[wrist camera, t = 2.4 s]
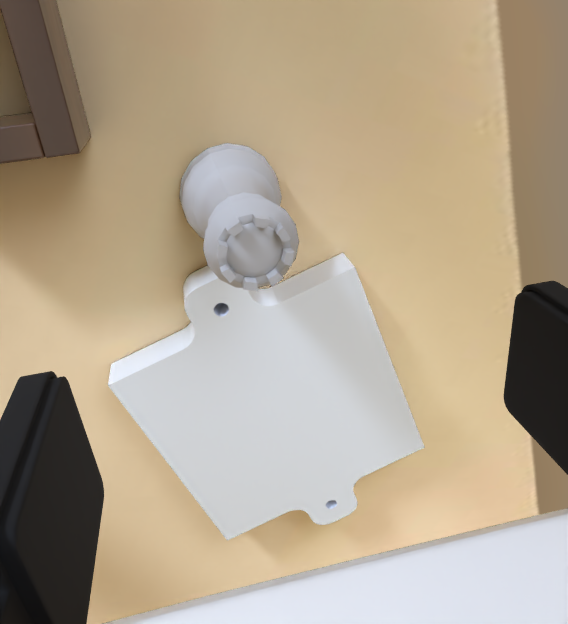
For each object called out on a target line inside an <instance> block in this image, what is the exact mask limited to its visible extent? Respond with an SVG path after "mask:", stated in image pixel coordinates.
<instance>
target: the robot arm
mask: <svg viewBox="0 0 568 624" xmlns="http://www.w3.org/2000/svg"><path fill="white" fill-rule="evenodd" d="M504 402H505V405H506V407H507V409H508V411H509V412H510V413H511V414H512V416H513V417H514V418H515V419H516V420H517V421H518V422H519V423H520V424H521V425H522V426H523V427H524V428H525V430H526V431H527V432H528V433H529V434H530V435H531V436H532V437H533V438H534V439H535V440H536V441H537V442H538V443H539V445H540V446H541V447H542V448H543V449H544V450H545V451H546V452H547V453H548V454H549V455H550V456H551V457H552V458H553V459H554V460H555V462H556V463H557V464H558V465H559V466H560V467H561V468H562V469H563V470H564V471H565V472H566V473H567V474H568V288H566V287H565V286H563V285H561V284H560V283H558V282H555V281H548V282H542V283H537V284H531V285H527V286H525V287H524V288H523V290H522V292H521V293H519V294H518V295H517V297H516V299H515V305H514V313H513V322H512V330H511V338H510V347H509V355H508V364H507V372H506V380H505V389H504ZM103 500H104V488H103V482H102V478H101V475H100V472H99V469H98V467H97V464H96V461H95V458H94V455H93V452H92V449H91V446H90V443H89V440H88V438H87V435H86V432H85V429H84V426H83V423H82V420H81V417H80V414H79V411H78V409H77V406H76V403H75V400H74V397H73V394H72V391H71V388H70V385H69V383H68V380H67V379H66V377H59V378H57V376H56V375H55V373H54V372H52V371H50V372H45V373H39V374H33V375H28V376H23V377H20V378H19V380H18V382H17V384H16V386H15V388H14V391H13V393H12V395H11V397H10V400H9V402H8V404H7V406H6V409H5V411H4V413H3V415H2V418H1V420H0V624H86V622H87V615H88V608H89V601H90V593H91V586H92V579H93V572H94V565H95V558H96V550H97V543H98V536H99V529H100V522H101V515H102V508H103ZM103 624H568V508H566V509H562V510H558V511H553V512H550V513H545V514H541V515H536V516H532V517H528V518H524V519H519V520H515V521H511V522H507V523H503V524H499V525H495V526H490V527H486V528H482V529H478V530H474V531H470V532H465V533H461V534H457V535H453V536H449V537H445V538H441V539H436V540H432V541H428V542H424V543H420V544H416V545H412V546H408V547H403V548H399V549H395V550H391V551H387V552H383V553H379V554H375V555H370V556H366V557H362V558H358V559H354V560H350V561H346V562H342V563H338V564H334V565H330V566H326V567H322V568H318V569H314V570H310V571H306V572H301V573H297V574H293V575H289V576H285V577H281V578H277V579H273V580H269V581H265V582H261V583H257V584H253V585H249V586H245V587H241V588H237V589H233V590H229V591H225V592H221V593H217V594H213V595H209V596H205V597H201V598H197V599H193V600H189V601H186V602H182V603H178V604H174V605H170V606H167V607H163V608H159V609H155V610H151V611H148V612H144V613H140V614H136V615H132V616H129V617H125V618H121V619H117V620H114V621H110V622H106V623H103Z"/></svg>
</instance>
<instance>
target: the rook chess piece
mask: <svg viewBox="0 0 568 624" xmlns="http://www.w3.org/2000/svg"><path fill="white" fill-rule="evenodd" d="M281 198H282V196H281V192H280V187H279V182H278V178H277V177H276V174H275V172H274V170H273V169H272V167H271V166H270V165H269V163H268V162H267V160H266V159H265V157H264V156H262V155H260V154H259V153H257V152H256V151H254V150H252V149H251V148H249V147H248V146H242V145H236V144H230V143H226V144H222V145H218V146H214V147H210V148H207V149H206V150H204V151H203V152H202V153H201V154H199V155H198V156H197V157H195V158H194V159H193V160H191V162H190V164H189V166H188V167H187V169H186V171H185V173H184V175H183V176H182V178H181V188H180V202H181V205H182V208H183V211H184V214H185V217H186V219H187V222H188V223H189V224H190V226H191V227H192V228H193V229H194V230H195V232H196V233H197V234H198V235H199V236H200V237H201V238H203V239H204V246H203V250H204V254H205V257H206V260H207V264H208V267H209V268H210V269H211V270H212V271H213V272H214V273H215V275H216V276H217V277H218V278H219V279H220V280H221V281H223V282H226V283H228V284H230V285H232V286H234V287H236V288H243V290H253V291H258V289H257V288H259V287H263V286H267V285H270V284H271V286H274V285H275V284H276V283H278V282H279V281H281V280H282V279H283V275H285V274H286V272H287V271H288V269H289V268H290V266H292V263H293V262H294V260H295V259H296V254H297V249H298V244H299V239H298V234H297V229H296V224H295V223H294V221H293V220H292V219H291V217H290V216H289V214H288V213H287V212H286V210H285V209H283V208H282V207H280V203H281Z"/></svg>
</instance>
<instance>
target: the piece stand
mask: <svg viewBox="0 0 568 624" xmlns="http://www.w3.org/2000/svg"><path fill="white" fill-rule="evenodd" d="M0 9H1V12H2V16H3V19H4V22H5V26H6V29H7V32H8V35H9V39H10V42H11V45H12V49H13V52H14V55H15V59H16V62H17V65H18V68H19V72H20V75H21V78H22V82H23V85H24V88H25V92H26V95H27V98H28V101H29V105H30V108H31V111H32V113H27V114H19V115H10V116H2V117H0V164H1V163H9V162H16V161H24V160H31V159H39V158H44V157H47V158H48V157H55V156H63V155H70V154H78V153H80V152H81V150H82V149H83V147H84V146H85V145H86V143H87V142H88V140H89V139H90V137H91V134H90V130H89V126H88V123H87V119H86V115H85V111H84V107H83V103H82V99H81V95H80V91H79V88H78V84H77V80H76V76H75V72H74V68H73V64H72V60H71V57H70V53H69V49H68V45H67V41H66V37H65V33H64V29H63V25H62V22H61V18H60V14H59V10H58V6H57V2H56V0H0Z"/></svg>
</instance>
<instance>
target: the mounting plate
mask: <svg viewBox="0 0 568 624" xmlns="http://www.w3.org/2000/svg"><path fill="white" fill-rule="evenodd" d="M183 292H184V304H185V311H186V314H187V316H188V317H189V319H190V321H191V322H190V324H189V325H188V326H187V327H186V328H184V329H183V330H181V331H179V332H176V333H174V334H172V335H170V336H168V337H166V338H164V339H162V340H160V341H158V342H156V343H154V344H151V345H149V346H147V347H145V348H143V349H141V350H139V351H137V352H135V353H133V354H131V355H129V356H126V357H124V358H122V359H120V360H118V361H116V362H114V363H112V364H111V369H110V376H109V382H108V386H109V387H110V389H111V390H112V391H113V393H114V394H115V395H116V396H117V398H118V399H119V400H120V402H121V403H122V404H123V406H124V407H125V408H126V410H127V411H128V412H129V413H130V415H131V416H132V417H133V419H134V420H135V421H136V423H137V424H138V425H139V426H140V428H141V429H142V430H143V432H144V433H145V434H146V436H147V437H148V438H149V439H150V441H151V442H152V443H153V445H154V446H155V447H156V449H157V450H158V451H159V452H160V454H161V455H162V456H163V458H164V459H165V460H166V462H167V463H168V464H169V465H170V467H171V468H172V469H173V471H174V472H175V473H176V475H177V476H178V477H179V478H180V480H181V481H182V482H183V484H184V485H185V486H186V488H187V489H188V490H189V491H190V493H191V494H192V495H193V497H194V498H195V499H196V501H197V502H198V503H199V504H200V506H201V507H202V508H203V510H204V511H205V512H206V514H207V515H208V516H209V517H210V519H211V520H212V521H213V523H214V524H215V525H216V527H217V528H218V529H219V530H220V532H221V533H222V534H223V536H224V537H225V538H226V540H229V539H232V538H234V537H236V536H238V535H240V534H242V533H244V532H246V531H249V530H251V529H253V528H255V527H257V526H259V525H261V524H263V523H266V522H268V521H270V520H272V519H274V518H276V517H278V516H280V515H282V514H285V513H287V512H289V511H292V510H302V511H305V512H307V513H308V515H309V516H310V518H311V519H312V521H313V522H314V523H316V524H320V525H326V524H330V523H333V522H335V521H337V520H339V519H341V518H343V517H345V516H347V515H349V514H351V513H352V512H353V511H354V510H355V509H356V507H357V499H356V496H355V494H354V492H353V487H354V484H355V483H356V482H357V481H358V480H359V479H360V478H362V477H363V476H365V475H367V474H369V473H372V472H374V471H376V470H378V469H380V468H382V467H384V466H386V465H389V464H391V463H393V462H395V461H397V460H399V459H401V458H403V457H406V456H408V455H410V454H412V453H414V452H416V451H418V450H420V449H422V448H425V447H424V444H423V442H422V439H421V437H420V434H419V431H418V429H417V426H416V424H415V421H414V418H413V416H412V413H411V411H410V408H409V406H408V403H407V400H406V398H405V395H404V393H403V390H402V387H401V385H400V382H399V380H398V377H397V374H396V372H395V369H394V367H393V364H392V362H391V359H390V356H389V354H388V351H387V349H386V346H385V343H384V341H383V338H382V336H381V333H380V331H379V328H378V325H377V323H376V320H375V318H374V315H373V312H372V310H371V307H370V305H369V302H368V299H367V297H366V294H365V292H364V289H363V287H362V284H361V281H360V279H359V276H358V274H357V271H356V268H355V267H354V265H353V264H352V263H351V262H350V260H349V259H348V258H347V257H346V256H345V254H344V253H341V254H339V255H337V256H335V257H333V258H331V259H328V260H326V261H324V262H322V263H320V264H318V265H316V266H314V267H312V268H310V269H308V270H306V271H303V272H301V273H299V274H297V275H295V276H293V277H291V278H289V279H287V280H285V281H283V282H281V283H278V284H276V285H274V286H272V287H270V288H267V289H258V291H253V290H243V288H236V287H234V286H232V285H230V284H228V283H226V282H223V281H221V280H220V279H219V278H218V277H217V276H216V275H215V273H214V272H213V271H212V270H211V269H210V268H209V267H208V265H207V266H205V267H203V268H201V269H199V270H197V271H195V272H193V273H192V274H190V275H189V276H188V277H187V278H186V280H185V282H184V286H183Z"/></svg>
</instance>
